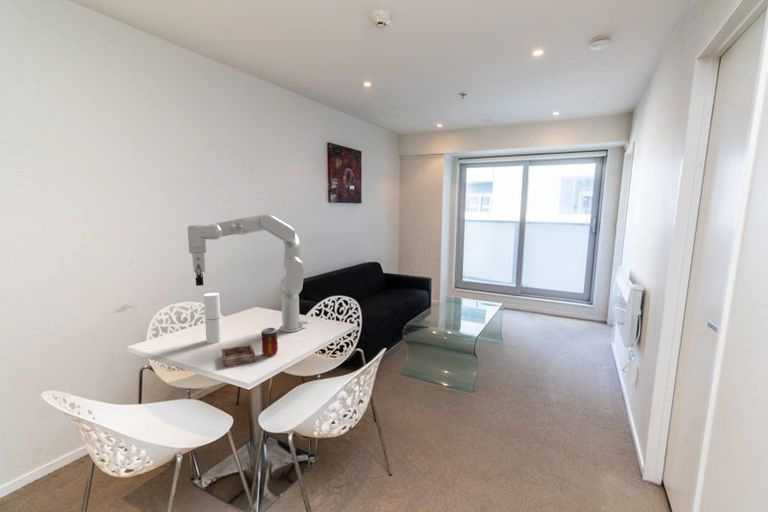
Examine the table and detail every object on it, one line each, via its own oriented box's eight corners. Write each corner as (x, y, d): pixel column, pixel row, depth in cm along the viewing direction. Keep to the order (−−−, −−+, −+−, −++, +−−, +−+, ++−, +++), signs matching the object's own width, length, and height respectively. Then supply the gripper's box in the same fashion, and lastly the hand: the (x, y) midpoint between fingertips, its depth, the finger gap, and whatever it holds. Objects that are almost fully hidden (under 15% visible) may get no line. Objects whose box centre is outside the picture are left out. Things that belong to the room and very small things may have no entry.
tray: (251, 351, 166) (251, 344, 166) (255, 361, 155) (255, 354, 154) (222, 356, 160) (221, 349, 160) (223, 367, 149) (223, 360, 148)
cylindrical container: (215, 343, 174) (212, 296, 171) (203, 342, 176) (200, 295, 172) (224, 338, 181) (222, 293, 178) (212, 337, 183) (210, 292, 179)
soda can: (275, 349, 168) (274, 326, 166) (279, 354, 162) (279, 330, 161) (260, 353, 164) (259, 328, 162) (264, 358, 158) (263, 333, 157)
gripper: (206, 251, 164) (208, 286, 166) (205, 247, 179) (207, 279, 181) (188, 252, 160) (190, 287, 162) (189, 248, 175) (191, 280, 177)
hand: (199, 283), depth 172 cm, fingers open, 9 cm apart
